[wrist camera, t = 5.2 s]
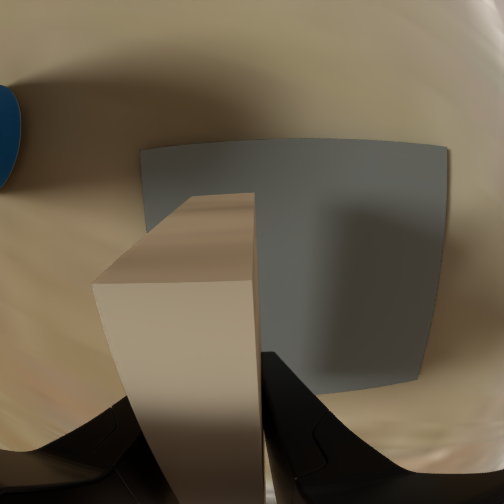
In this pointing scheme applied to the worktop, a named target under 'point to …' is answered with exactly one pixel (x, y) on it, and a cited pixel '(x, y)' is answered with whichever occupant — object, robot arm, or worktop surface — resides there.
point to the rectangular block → (193, 347)
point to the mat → (328, 245)
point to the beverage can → (8, 132)
